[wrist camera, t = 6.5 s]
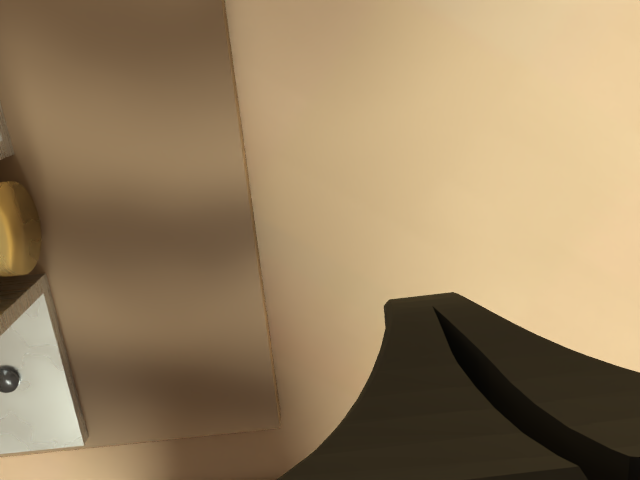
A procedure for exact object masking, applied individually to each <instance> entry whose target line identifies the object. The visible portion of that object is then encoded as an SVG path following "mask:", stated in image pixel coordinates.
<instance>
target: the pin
mask: <svg viewBox="0 0 640 480" xmlns="http://www.w3.org/2000/svg"><path fill="white" fill-rule="evenodd" d="M40 250H41V225H40V219H39V215H38V212H37V208H36V206H35V203H34V201H33V199H32V197H31V195H30V194H29V192H28V191H27V190H26V189H25V188H24V187H23V186H22V185H21V184H20V183H17V182H14V181H9V182H0V277H6V276H16V275H25V274H28V273H29V272H31V271H32V270H33V269H34V267H35V266H36V264H37V261H38V259H39V255H40Z"/></svg>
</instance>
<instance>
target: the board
mask: <svg viewBox="0 0 640 480" xmlns="http://www.w3.org/2000/svg"><path fill="white" fill-rule="evenodd" d="M0 101H1V105H2V109H3V112H4V116H5V120H6V124H7V128H8V131H9V135H10V139H11V143H12V147H13V150H14V154H13V155H11V156H8V157H6V158H3V159H1V160H0V182H9V181H14V182H17V183H20V184H21V185H22V186H23V187H24V188H25V189H26V190H27V191H28V192H29V194H30V195H31V197H32V199H33V201H34V203H35V206H36V208H37V212H38V215H39V219H40V225H41V250H40V255H39V259H38V261H37V264H36V266H35V267H34V269H33V270H32V271H31V272H29V273H28V274H25V275H34V274H44V273H46V276H47V280H48V283H49V287H50V291H51V295H52V299H53V302H54V306H55V310H56V314H57V318H58V321H59V325H60V329H61V333H62V336H63V340H64V344H65V348H66V352H67V355H68V359H69V363H70V367H71V371H72V374H73V378H74V382H75V386H76V390H77V393H78V397H79V401H80V405H81V409H82V412H83V416H84V420H85V424H86V428H87V431H88V435H89V437H88V439H87V441H86V443H85V445H84V446H74V447H65V448H55V449H45V450H36V451H26V452H16V453H6V454H0V457H8V456H18V455H28V454H37V453H47V452H57V451H66V450H76V449H86V448H96V447H105V446H115V445H125V444H134V443H144V442H154V441H164V440H173V439H183V438H193V437H202V436H212V435H222V434H232V433H241V432H251V431H261V430H270V429H280V417H281V415H280V408H279V400H278V393H277V385H276V378H275V371H274V363H273V356H272V348H271V341H270V334H269V326H268V319H267V312H266V304H265V297H264V289H263V282H262V275H261V267H260V260H259V252H258V245H257V238H256V230H255V223H254V215H253V208H252V201H251V193H250V186H249V178H248V171H247V164H246V156H245V149H244V141H243V134H242V127H241V119H240V112H239V104H238V97H237V90H236V82H235V75H234V68H233V60H232V53H231V45H230V38H229V31H228V23H227V16H226V8H225V1H224V0H0ZM16 276H24V275H16ZM6 277H14V276H6ZM0 278H4V277H0Z"/></svg>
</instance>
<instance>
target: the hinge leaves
mask: <svg viewBox="0 0 640 480" xmlns="http://www.w3.org/2000/svg"><path fill="white" fill-rule="evenodd" d="M13 154H14V150H13V147H12V143H11V139H10V135H9V131H8V128H7V124H6V120H5V116H4V112H3V109H2V105H1V101H0V160H1V159H3V158H6V157H8V156H11V155H13ZM88 437H89V435H88V431H87V428H86V424H85V420H84V416H83V412H82V409H81V405H80V401H79V397H78V393H77V390H76V386H75V382H74V378H73V374H72V371H71V367H70V363H69V359H68V355H67V352H66V348H65V344H64V340H63V336H62V333H61V329H60V325H59V321H58V318H57V314H56V310H55V306H54V302H53V299H52V295H51V291H50V287H49V283H48V280H47V276H46V273H44V274H34V275H24V276H14V277H4V278H0V454H6V453H16V452H26V451H36V450H45V449H55V448H65V447H74V446H84V445H85V443H86V441H87V439H88Z"/></svg>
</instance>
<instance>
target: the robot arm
mask: <svg viewBox="0 0 640 480" xmlns="http://www.w3.org/2000/svg"><path fill="white" fill-rule="evenodd" d="M384 314H385V326H386V329H385V333H384V337H383V341H382V345H381V349H380V352H379V354H378V357H377V360H376V362H375V365H374V367H373V370H372V372H371V374H370V377H369V379H368V381H367V383H366V385H365V387H364V388H363V390H362V392H361V394H360V395H359V397H358V399H357V400H356V402H355V403H354V405H353V406H352V408H351V409H350V411H349V412H348V413H347V415H346V416H345V418H344V419H343V420H342V422H341V423H340V424H339V425H338V427H337V428H336V429H335V430H334V431H333V432H332V433H331V435H330V436H329V437H328V438H327V439H326V440H325V441H324V442H323V443H322V444H321V445H320V446H319V447H318V448H317V449H316V450H315V451H314V452H313V453H312V454H310V455H309V456H308V457H307V458H305V459H304V460H303V461H301V462H300V463H299V464H297V465H296V466H295V467H293V468H292V469H291V470H289V471H288V472H287V473H285V474H284V475H283V476H281V477H280V478H279V479H277V480H640V373H639V372H636V371H632V370H629V369H625V368H622V367H619V366H616V365H613V364H610V363H607V362H604V361H601V360H598V359H595V358H592V357H589V356H586V355H584V354H581V353H578V352H576V351H573V350H571V349H568V348H566V347H563V346H561V345H559V344H556V343H554V342H552V341H550V340H547V339H545V338H543V337H541V336H538V335H536V334H534V333H532V332H530V331H528V330H526V329H524V328H522V327H520V326H518V325H516V324H514V323H512V322H510V321H508V320H506V319H504V318H502V317H500V316H498V315H497V314H495V313H493V312H491V311H489V310H487V309H486V308H484V307H482V306H480V305H478V304H476V303H474V302H473V301H471V300H469V299H467V298H465V297H463V296H461V295H459V294H456V293H454V292H451V293H443V294H434V295H425V296H417V297H408V298H400V299H391V300H389V301H388V302H387V303H386V304H385V305H384Z"/></svg>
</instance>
